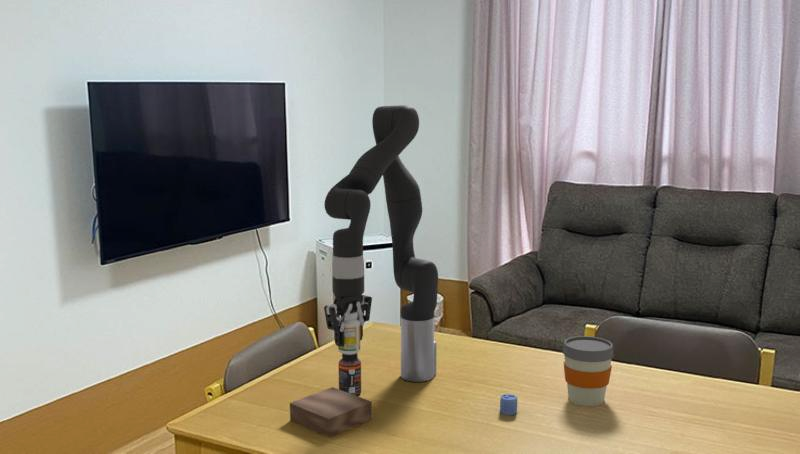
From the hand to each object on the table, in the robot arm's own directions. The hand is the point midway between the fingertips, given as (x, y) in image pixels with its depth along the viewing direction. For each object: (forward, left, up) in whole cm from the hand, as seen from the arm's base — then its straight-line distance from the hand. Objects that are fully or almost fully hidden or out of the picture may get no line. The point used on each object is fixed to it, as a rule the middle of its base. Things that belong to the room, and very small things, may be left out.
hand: (348, 342), depth 197 cm
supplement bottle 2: (-12, -13, -20) cm, 27 cm away
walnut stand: (+3, -4, -20) cm, 20 cm away
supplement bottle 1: (0, 0, -2) cm, 2 cm away
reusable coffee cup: (-50, +35, -20) cm, 65 cm away
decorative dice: (-30, +25, -20) cm, 44 cm away
